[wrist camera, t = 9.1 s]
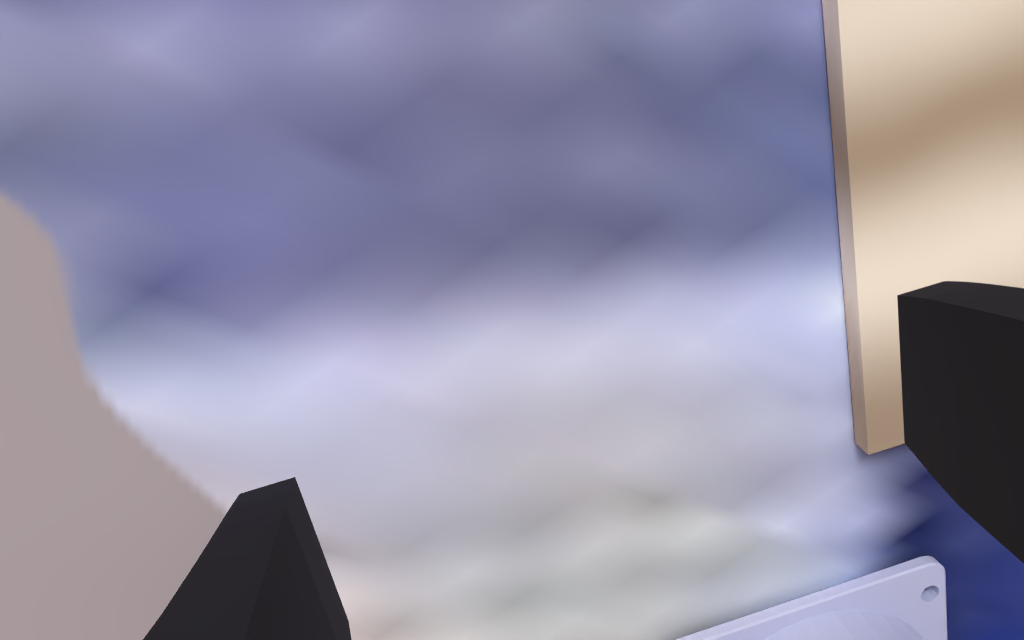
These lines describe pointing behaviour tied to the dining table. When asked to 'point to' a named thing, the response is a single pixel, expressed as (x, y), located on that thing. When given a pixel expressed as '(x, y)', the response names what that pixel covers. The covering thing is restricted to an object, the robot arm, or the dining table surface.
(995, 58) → the board
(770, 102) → the dining table surface
